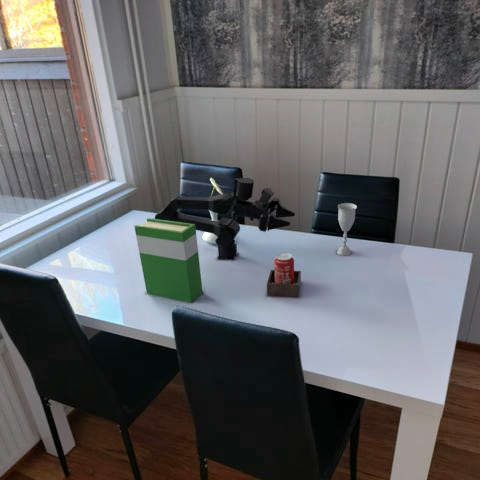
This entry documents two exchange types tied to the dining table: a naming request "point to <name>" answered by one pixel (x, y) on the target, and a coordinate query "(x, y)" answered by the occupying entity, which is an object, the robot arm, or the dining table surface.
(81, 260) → the dining table surface
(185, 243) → the hardback book
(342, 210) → the chalice
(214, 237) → the flower in vase
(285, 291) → the crate
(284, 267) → the beverage can
